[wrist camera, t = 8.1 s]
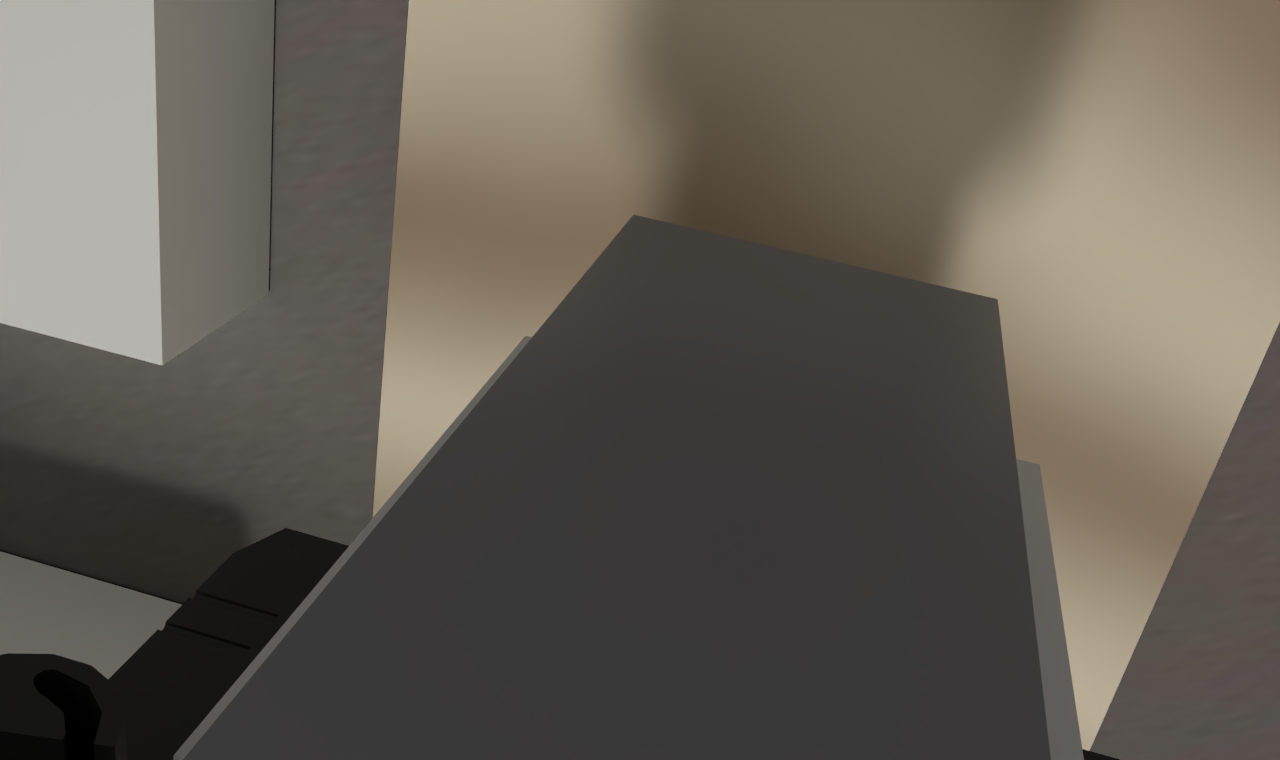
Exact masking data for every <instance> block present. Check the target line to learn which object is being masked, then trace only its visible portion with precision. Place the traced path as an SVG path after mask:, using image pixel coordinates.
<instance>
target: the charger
mask: <svg viewBox="0 0 1280 760" xmlns="http://www.w3.org/2000/svg"><path fill="white" fill-rule="evenodd" d="M183 760H1051V756H1050V748H1049V739H1048V730H1047V722H1046V713H1045V704H1044V696H1043V687H1042V678H1041V670H1040V661H1039V652H1038V644H1037V635H1036V626H1035V618H1034V609H1033V600H1032V592H1031V583H1030V574H1029V566H1028V557H1027V548H1026V540H1025V531H1024V522H1023V514H1022V505H1021V496H1020V488H1019V479H1018V470H1017V462H1016V453H1015V444H1014V436H1013V427H1012V418H1011V410H1010V401H1009V392H1008V384H1007V375H1006V366H1005V358H1004V349H1003V340H1002V332H1001V323H1000V314H999V306H998V299H995V298H990V297H986V296H982V295H977V294H973V293H969V292H965V291H960V290H956V289H952V288H947V287H943V286H939V285H934V284H930V283H926V282H922V281H917V280H913V279H909V278H904V277H900V276H896V275H891V274H887V273H883V272H879V271H874V270H870V269H866V268H861V267H857V266H853V265H848V264H844V263H840V262H836V261H831V260H827V259H823V258H818V257H814V256H810V255H805V254H801V253H797V252H793V251H788V250H784V249H780V248H775V247H771V246H767V245H762V244H758V243H754V242H750V241H745V240H741V239H737V238H732V237H728V236H724V235H719V234H715V233H711V232H707V231H702V230H698V229H694V228H689V227H685V226H681V225H677V224H672V223H668V222H664V221H659V220H655V219H651V218H646V217H642V216H638V215H633V216H632V217H631V218H630V219H629V221H628V222H627V223H626V224H625V225H624V227H623V228H622V229H621V230H620V232H619V233H618V234H617V235H616V236H615V238H614V239H613V240H612V241H611V242H610V244H609V245H608V246H607V247H606V248H605V250H604V251H603V252H602V253H601V255H600V256H599V257H598V258H597V259H596V261H595V262H594V263H593V264H592V265H591V267H590V268H589V269H588V270H587V271H586V273H585V274H584V275H583V276H582V278H581V279H580V280H579V281H578V282H577V284H576V285H575V286H574V287H573V288H572V290H571V291H570V292H569V293H568V294H567V296H566V297H565V298H564V299H563V300H562V302H561V303H560V304H559V305H558V307H557V308H556V309H555V310H554V311H553V313H552V314H551V315H550V316H549V317H548V319H547V320H546V321H545V322H544V323H543V325H542V326H541V327H540V328H539V330H538V331H537V332H536V333H535V334H534V336H533V337H532V338H531V339H530V340H529V342H528V343H527V344H526V345H525V346H524V348H523V349H522V350H521V351H520V353H519V354H518V355H517V356H516V357H515V359H514V360H513V361H512V362H511V363H510V365H509V366H508V367H507V368H506V369H505V371H504V372H503V373H502V374H501V375H500V377H499V378H498V379H497V380H496V382H495V383H494V384H493V385H492V386H491V388H490V389H489V390H488V391H487V392H486V394H485V395H484V396H483V397H482V398H481V400H480V401H479V402H478V403H477V405H476V406H475V407H474V408H473V409H472V411H471V412H470V413H469V414H468V415H467V417H466V418H465V419H464V420H463V421H462V423H461V424H460V425H459V426H458V428H457V429H456V430H455V431H454V432H453V434H452V435H451V436H450V437H449V438H448V440H447V441H446V442H445V443H444V444H443V446H442V447H441V448H440V449H439V451H438V452H437V453H436V454H435V455H434V457H433V458H432V459H431V460H430V461H429V463H428V464H427V465H426V466H425V467H424V469H423V470H422V471H421V472H420V473H419V475H418V476H417V477H416V478H415V480H414V481H413V482H412V483H411V484H410V486H409V487H408V488H407V489H406V490H405V492H404V493H403V494H402V495H401V496H400V498H399V499H398V500H397V501H396V503H395V504H394V505H393V506H392V507H391V509H390V510H389V511H388V512H387V513H386V515H385V516H384V517H383V518H382V519H381V521H380V522H379V523H378V524H377V526H376V527H375V528H374V529H373V530H372V532H371V533H370V534H369V535H368V536H367V538H366V539H365V540H364V541H363V542H362V544H361V545H360V546H359V547H358V548H357V550H356V551H355V552H354V553H353V555H352V556H351V557H350V558H349V559H348V561H347V562H346V563H345V564H344V565H343V567H342V568H341V569H340V570H339V571H338V573H337V574H336V575H335V576H334V578H333V579H332V580H331V581H330V582H329V584H328V585H327V586H326V587H325V588H324V590H323V591H322V592H321V593H320V594H319V596H318V597H317V598H316V599H315V601H314V602H313V603H312V604H311V605H310V607H309V608H308V609H307V610H306V611H305V613H304V614H303V615H302V616H301V617H300V619H299V620H298V621H297V622H296V624H295V625H294V626H293V627H292V628H291V630H290V631H289V632H288V633H287V634H286V636H285V637H284V638H283V639H282V640H281V642H280V643H279V644H278V645H277V646H276V648H275V649H274V650H273V651H272V653H271V654H270V655H269V656H268V657H267V659H266V660H265V661H264V662H263V663H262V665H261V666H260V667H259V668H258V669H257V671H256V672H255V673H254V674H253V676H252V677H251V678H250V679H249V680H248V682H247V683H246V684H245V685H244V686H243V688H242V689H241V690H240V691H239V692H238V694H237V695H236V696H235V697H234V699H233V700H232V701H231V702H230V703H229V705H228V706H227V707H226V708H225V709H224V711H223V712H222V713H221V714H220V715H219V717H218V718H217V719H216V720H215V721H214V723H213V724H212V725H211V726H210V728H209V729H208V730H207V731H206V732H205V734H204V735H203V736H202V737H201V738H200V740H199V741H198V742H197V743H196V744H195V746H194V747H193V748H192V749H191V751H190V752H189V753H188V754H187V755H186V757H185V758H184V759H183Z"/></svg>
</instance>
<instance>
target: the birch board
mask: <svg viewBox="0 0 1280 760" xmlns="http://www.w3.org/2000/svg"><path fill="white" fill-rule="evenodd" d="M633 215H638V216H642V217H646V218H651V219H655V220H659V221H664V222H668V223H672V224H677V225H681V226H685V227H689V228H694V229H698V230H702V231H707V232H711V233H715V234H719V235H724V236H728V237H732V238H737V239H741V240H745V241H750V242H754V243H758V244H762V245H767V246H771V247H775V248H780V249H784V250H788V251H793V252H797V253H801V254H805V255H810V256H814V257H818V258H823V259H827V260H831V261H836V262H840V263H844V264H848V265H853V266H857V267H861V268H866V269H870V270H874V271H879V272H883V273H887V274H891V275H896V276H900V277H904V278H909V279H913V280H917V281H922V282H926V283H930V284H934V285H939V286H943V287H947V288H952V289H956V290H960V291H965V292H969V293H973V294H977V295H982V296H986V297H990V298H995V299H998V306H999V314H1000V323H1001V332H1002V340H1003V349H1004V358H1005V366H1006V375H1007V384H1008V392H1009V401H1010V410H1011V418H1012V427H1013V436H1014V444H1015V453H1016V459H1019V460H1023V461H1027V462H1031V463H1035V464H1039V465H1040V470H1041V477H1042V483H1043V490H1044V497H1045V503H1046V510H1047V517H1048V523H1049V530H1050V537H1051V543H1052V550H1053V557H1054V563H1055V570H1056V577H1057V583H1058V590H1059V597H1060V603H1061V610H1062V617H1063V623H1064V630H1065V637H1066V643H1067V650H1068V657H1069V663H1070V670H1071V677H1072V683H1073V690H1074V697H1075V703H1076V710H1077V717H1078V723H1079V730H1080V737H1081V743H1082V749H1084V750H1087V751H1089V750H1090V748H1091V746H1092V744H1093V741H1094V739H1095V737H1096V735H1097V732H1098V730H1099V728H1100V726H1101V723H1102V721H1103V719H1104V717H1105V714H1106V712H1107V710H1108V708H1109V705H1110V703H1111V701H1112V699H1113V696H1114V694H1115V692H1116V690H1117V687H1118V685H1119V683H1120V681H1121V678H1122V676H1123V674H1124V672H1125V669H1126V667H1127V665H1128V663H1129V660H1130V658H1131V656H1132V654H1133V651H1134V649H1135V647H1136V645H1137V642H1138V640H1139V638H1140V636H1141V633H1142V631H1143V629H1144V626H1145V624H1146V622H1147V620H1148V617H1149V615H1150V613H1151V611H1152V608H1153V606H1154V604H1155V602H1156V599H1157V597H1158V595H1159V593H1160V590H1161V588H1162V586H1163V584H1164V581H1165V579H1166V577H1167V575H1168V572H1169V570H1170V568H1171V566H1172V563H1173V561H1174V559H1175V557H1176V554H1177V552H1178V550H1179V548H1180V545H1181V543H1182V541H1183V539H1184V536H1185V534H1186V532H1187V530H1188V527H1189V525H1190V523H1191V521H1192V518H1193V516H1194V514H1195V511H1196V509H1197V507H1198V505H1199V502H1200V500H1201V498H1202V496H1203V493H1204V491H1205V489H1206V487H1207V484H1208V482H1209V480H1210V478H1211V475H1212V473H1213V471H1214V469H1215V466H1216V464H1217V462H1218V460H1219V457H1220V455H1221V453H1222V451H1223V448H1224V446H1225V444H1226V442H1227V439H1228V437H1229V435H1230V433H1231V430H1232V428H1233V426H1234V424H1235V421H1236V419H1237V417H1238V415H1239V412H1240V410H1241V408H1242V406H1243V403H1244V401H1245V399H1246V397H1247V394H1248V392H1249V390H1250V387H1251V385H1252V383H1253V381H1254V378H1255V376H1256V374H1257V372H1258V369H1259V367H1260V365H1261V363H1262V360H1263V358H1264V356H1265V354H1266V351H1267V349H1268V347H1269V345H1270V342H1271V340H1272V338H1273V336H1274V333H1275V331H1276V329H1277V327H1278V324H1279V322H1280V0H409V10H408V24H407V38H406V52H405V66H404V81H403V95H402V109H401V123H400V137H399V152H398V166H397V180H396V194H395V208H394V223H393V237H392V251H391V265H390V279H389V293H388V308H387V322H386V336H385V350H384V364H383V379H382V393H381V407H380V421H379V435H378V450H377V464H376V478H375V492H374V506H373V517H374V516H375V515H376V513H377V512H378V511H379V510H380V509H381V508H382V506H383V505H384V504H385V503H386V502H387V500H388V499H389V498H390V497H391V496H392V494H393V493H394V492H395V491H396V490H397V488H398V487H399V486H400V485H401V484H402V482H403V481H404V480H405V479H406V478H407V476H408V475H409V474H410V473H411V472H412V471H413V469H414V468H415V467H416V466H417V465H418V463H419V462H420V461H421V460H422V459H423V457H424V456H425V455H426V454H427V453H428V451H429V450H430V449H431V448H432V447H433V445H434V444H435V443H436V442H437V441H438V440H439V438H440V437H441V436H442V435H443V434H444V432H445V431H446V430H447V429H448V428H449V426H450V425H451V424H452V423H453V422H454V420H455V419H456V418H457V417H458V416H459V414H460V413H461V412H462V411H463V410H464V408H465V407H466V406H467V405H468V404H469V403H470V401H471V400H472V399H473V398H474V397H475V395H476V394H477V393H478V392H479V391H480V389H481V388H482V387H483V386H484V385H485V383H486V382H487V381H488V380H489V379H490V377H491V376H492V375H493V374H494V373H495V372H496V370H497V369H498V368H499V367H500V366H501V364H502V363H503V362H504V361H505V360H506V358H507V357H508V356H509V355H510V354H511V352H512V351H513V350H514V349H515V348H516V346H517V345H518V344H519V343H520V342H521V340H522V339H523V338H524V337H525V336H529V337H533V336H534V334H535V333H536V332H537V331H538V330H539V328H540V327H541V326H542V325H543V323H544V322H545V321H546V320H547V319H548V317H549V316H550V315H551V314H552V313H553V311H554V310H555V309H556V308H557V307H558V305H559V304H560V303H561V302H562V300H563V299H564V298H565V297H566V296H567V294H568V293H569V292H570V291H571V290H572V288H573V287H574V286H575V285H576V284H577V282H578V281H579V280H580V279H581V278H582V276H583V275H584V274H585V273H586V271H587V270H588V269H589V268H590V267H591V265H592V264H593V263H594V262H595V261H596V259H597V258H598V257H599V256H600V255H601V253H602V252H603V251H604V250H605V248H606V247H607V246H608V245H609V244H610V242H611V241H612V240H613V239H614V238H615V236H616V235H617V234H618V233H619V232H620V230H621V229H622V228H623V227H624V225H625V224H626V223H627V222H628V221H629V219H630V218H631V217H632V216H633Z"/></svg>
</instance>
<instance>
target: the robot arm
mask: <svg viewBox="0 0 1280 760" xmlns="http://www.w3.org/2000/svg"><path fill="white" fill-rule="evenodd" d="M531 338H532V337H529V336H525V337H524V338H523V339H522V340H521V342H520V343H519V344H518V345H517V346H516V348H515V349H514V350H513V351H512V352H511V354H510V355H509V356H508V357H507V358H506V360H505V361H504V362H503V363H502V364H501V366H500V367H499V368H498V369H497V370H496V372H495V373H494V374H493V375H492V376H491V377H490V379H489V380H488V381H487V382H486V383H485V385H484V386H483V387H482V388H481V389H480V391H479V392H478V393H477V394H476V395H475V397H474V398H473V399H472V400H471V401H470V403H469V404H468V405H467V406H466V407H465V408H464V410H463V411H462V412H461V413H460V414H459V416H458V417H457V418H456V419H455V420H454V422H453V423H452V424H451V425H450V426H449V428H448V429H447V430H446V431H445V432H444V434H443V435H442V436H441V437H440V438H439V440H438V441H437V442H436V443H435V444H434V445H433V447H432V448H431V449H430V450H429V451H428V453H427V454H426V455H425V456H424V457H423V459H422V460H421V461H420V462H419V463H418V465H417V466H416V467H415V468H414V469H413V471H412V472H411V473H410V474H409V475H408V476H407V478H406V479H405V480H404V481H403V482H402V484H401V485H400V486H399V487H398V488H397V490H396V491H395V492H394V493H393V494H392V496H391V497H390V498H389V499H388V500H387V502H386V503H385V504H384V505H383V506H382V508H381V509H380V510H379V511H378V512H377V513H376V515H375V516H374V517H373V518H372V519H371V521H370V522H369V523H368V524H367V525H366V527H365V528H364V529H363V530H362V531H361V533H360V534H359V535H358V536H357V537H356V539H355V540H354V541H353V542H352V543H351V544H350V546H347V545H344V544H340V543H337V542H333V541H330V540H326V539H323V538H319V537H315V536H312V535H308V534H305V533H301V532H298V531H294V530H291V529H287V528H285V529H283V530H281V531H279V532H277V533H275V534H273V535H270V536H268V537H266V538H264V539H262V540H260V541H258V542H256V543H254V544H252V545H250V546H248V547H246V548H244V549H241V550H239V551H237V552H235V553H233V554H232V555H231V556H230V557H229V558H228V559H227V560H226V561H225V562H224V563H223V564H222V565H221V566H220V567H219V568H218V569H217V570H216V571H215V572H214V573H213V574H212V575H211V576H210V577H209V578H208V579H207V580H206V581H205V582H204V583H203V584H202V585H201V586H200V587H199V588H198V589H197V590H196V595H195V597H194V598H193V599H191V598H188V599H187V600H186V601H185V602H184V603H183V604H182V605H181V607H180V608H179V609H178V610H177V611H176V612H175V613H174V614H173V615H172V616H171V617H170V618H169V619H168V620H167V621H166V623H165V627H164V629H163V630H157V631H156V632H155V633H154V634H153V635H152V636H151V637H150V638H149V639H148V640H147V641H146V642H145V643H144V644H143V645H142V646H141V647H140V648H139V649H138V650H137V651H136V652H135V653H134V654H133V655H132V656H131V657H130V658H129V659H128V660H127V661H126V662H125V663H124V664H123V665H122V666H121V667H120V668H119V669H118V670H117V671H116V672H115V673H114V674H113V675H112V676H111V677H110V678H109V679H107V678H106V677H105V676H103V675H102V674H101V673H100V672H99V671H97V670H96V669H95V668H94V667H93V666H91V665H88V664H85V663H82V662H78V661H75V660H72V659H69V658H65V657H62V656H59V655H55V654H17V653H7V654H3V655H0V760H183V759H184V758H185V757H186V755H187V754H188V753H189V752H190V751H191V749H192V748H193V747H194V746H195V744H196V743H197V742H198V741H199V740H200V738H201V737H202V736H203V735H204V734H205V732H206V731H207V730H208V729H209V728H210V726H211V725H212V724H213V723H214V721H215V720H216V719H217V718H218V717H219V715H220V714H221V713H222V712H223V711H224V709H225V708H226V707H227V706H228V705H229V703H230V702H231V701H232V700H233V699H234V697H235V696H236V695H237V694H238V692H239V691H240V690H241V689H242V688H243V686H244V685H245V684H246V683H247V682H248V680H249V679H250V678H251V677H252V676H253V674H254V673H255V672H256V671H257V669H258V668H259V667H260V666H261V665H262V663H263V662H264V661H265V660H266V659H267V657H268V656H269V655H270V654H271V653H272V651H273V650H274V649H275V648H276V646H277V645H278V644H279V643H280V642H281V640H282V639H283V638H284V637H285V636H286V634H287V633H288V632H289V631H290V630H291V628H292V627H293V626H294V625H295V624H296V622H297V621H298V620H299V619H300V617H301V616H302V615H303V614H304V613H305V611H306V610H307V609H308V608H309V607H310V605H311V604H312V603H313V602H314V601H315V599H316V598H317V597H318V596H319V594H320V593H321V592H322V591H323V590H324V588H325V587H326V586H327V585H328V584H329V582H330V581H331V580H332V579H333V578H334V576H335V575H336V574H337V573H338V571H339V570H340V569H341V568H342V567H343V565H344V564H345V563H346V562H347V561H348V559H349V558H350V557H351V556H352V555H353V553H354V552H355V551H356V550H357V548H358V547H359V546H360V545H361V544H362V542H363V541H364V540H365V539H366V538H367V536H368V535H369V534H370V533H371V532H372V530H373V529H374V528H375V527H376V526H377V524H378V523H379V522H380V521H381V519H382V518H383V517H384V516H385V515H386V513H387V512H388V511H389V510H390V509H391V507H392V506H393V505H394V504H395V503H396V501H397V500H398V499H399V498H400V496H401V495H402V494H403V493H404V492H405V490H406V489H407V488H408V487H409V486H410V484H411V483H412V482H413V481H414V480H415V478H416V477H417V476H418V475H419V473H420V472H421V471H422V470H423V469H424V467H425V466H426V465H427V464H428V463H429V461H430V460H431V459H432V458H433V457H434V455H435V454H436V453H437V452H438V451H439V449H440V448H441V447H442V446H443V444H444V443H445V442H446V441H447V440H448V438H449V437H450V436H451V435H452V434H453V432H454V431H455V430H456V429H457V428H458V426H459V425H460V424H461V423H462V421H463V420H464V419H465V418H466V417H467V415H468V414H469V413H470V412H471V411H472V409H473V408H474V407H475V406H476V405H477V403H478V402H479V401H480V400H481V398H482V397H483V396H484V395H485V394H486V392H487V391H488V390H489V389H490V388H491V386H492V385H493V384H494V383H495V382H496V380H497V379H498V378H499V377H500V375H501V374H502V373H503V372H504V371H505V369H506V368H507V367H508V366H509V365H510V363H511V362H512V361H513V360H514V359H515V357H516V356H517V355H518V354H519V353H520V351H521V350H522V349H523V348H524V346H525V345H526V344H527V343H528V342H529V340H530V339H531ZM1016 462H1017V470H1018V479H1019V488H1020V496H1021V505H1022V514H1023V522H1024V531H1025V540H1026V548H1027V557H1028V566H1029V574H1030V583H1031V592H1032V600H1033V609H1034V618H1035V626H1036V635H1037V644H1038V652H1039V661H1040V670H1041V678H1042V687H1043V696H1044V704H1045V713H1046V722H1047V730H1048V739H1049V748H1050V756H1051V760H1119V759H1116V758H1112V757H1109V756H1105V755H1102V754H1098V753H1095V752H1091V751H1087V750H1084V749H1082V743H1081V737H1080V730H1079V723H1078V717H1077V710H1076V703H1075V697H1074V690H1073V683H1072V677H1071V670H1070V663H1069V657H1068V650H1067V643H1066V637H1065V630H1064V623H1063V617H1062V610H1061V603H1060V597H1059V590H1058V583H1057V577H1056V570H1055V563H1054V557H1053V550H1052V543H1051V537H1050V530H1049V523H1048V517H1047V510H1046V503H1045V497H1044V490H1043V483H1042V477H1041V470H1040V465H1039V464H1035V463H1031V462H1027V461H1023V460H1019V459H1016Z"/></svg>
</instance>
